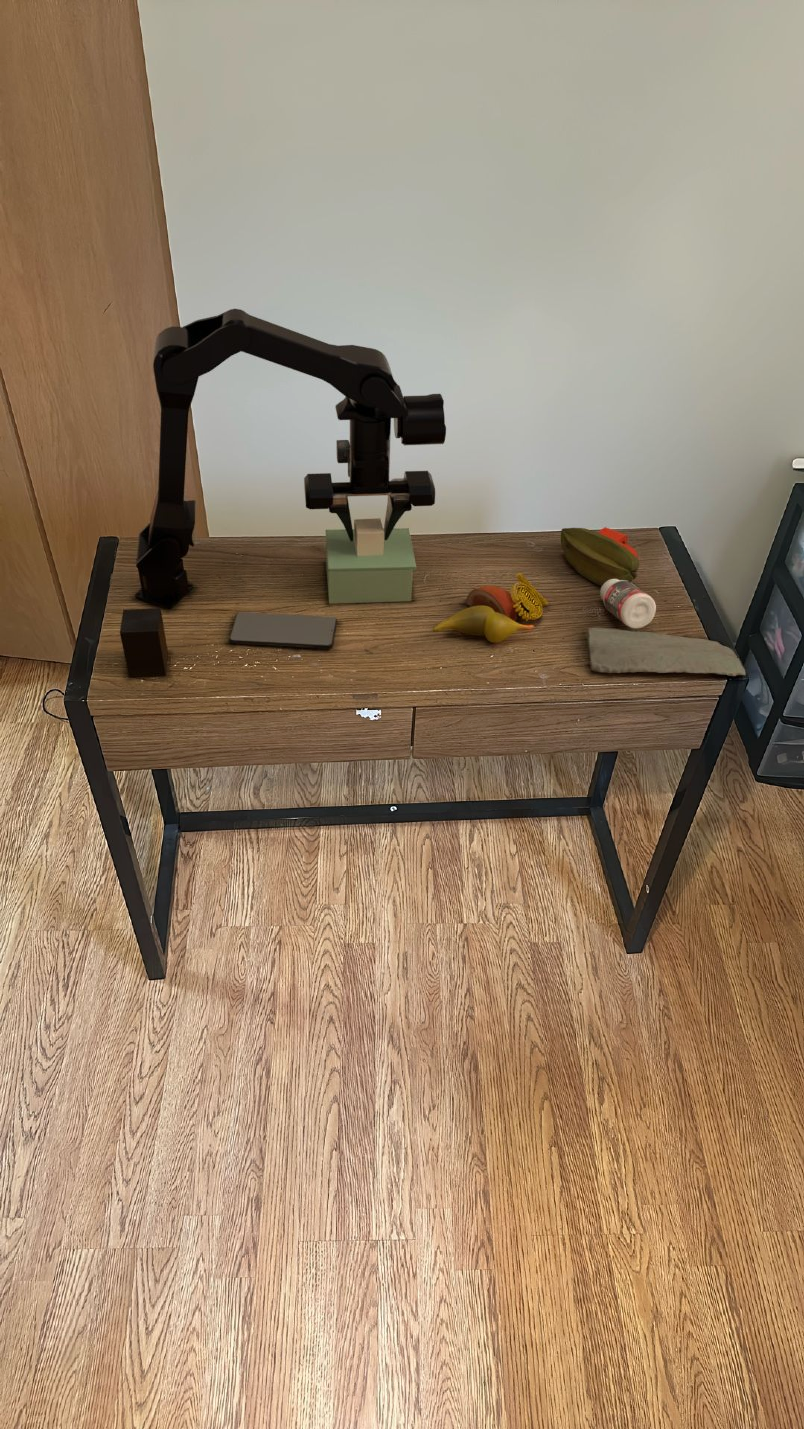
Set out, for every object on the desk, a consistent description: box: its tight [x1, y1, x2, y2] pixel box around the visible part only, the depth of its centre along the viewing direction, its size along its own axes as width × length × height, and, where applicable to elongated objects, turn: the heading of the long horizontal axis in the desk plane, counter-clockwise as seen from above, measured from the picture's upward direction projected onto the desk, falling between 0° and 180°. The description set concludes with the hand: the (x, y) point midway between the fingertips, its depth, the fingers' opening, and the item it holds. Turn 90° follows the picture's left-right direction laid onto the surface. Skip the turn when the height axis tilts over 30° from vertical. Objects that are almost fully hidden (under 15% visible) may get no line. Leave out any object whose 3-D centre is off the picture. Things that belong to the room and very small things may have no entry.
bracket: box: [583, 526, 639, 560], centre depth 159 cm, size 12×4×5 cm
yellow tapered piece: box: [432, 605, 535, 643], centre depth 141 cm, size 4×15×6 cm
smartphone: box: [228, 611, 338, 650], centre depth 141 cm, size 7×1×15 cm
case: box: [325, 544, 414, 605], centre depth 150 cm, size 13×11×6 cm
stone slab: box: [585, 626, 747, 677], centre depth 140 cm, size 22×3×10 cm
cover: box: [325, 527, 417, 572], centre depth 148 cm, size 13×11×1 cm
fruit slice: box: [465, 585, 519, 622], centre depth 146 cm, size 8×7×5 cm
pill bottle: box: [599, 579, 657, 629], centre depth 145 cm, size 5×5×10 cm
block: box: [353, 517, 384, 556], centre depth 146 cm, size 4×4×4 cm
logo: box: [509, 572, 549, 622], centre depth 145 cm, size 7×1×8 cm
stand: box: [119, 607, 169, 679], centre depth 133 cm, size 5×5×8 cm
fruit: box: [560, 527, 640, 587], centre depth 153 cm, size 11×12×7 cm
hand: (368, 539), depth 146 cm, fingers open, 5 cm apart
